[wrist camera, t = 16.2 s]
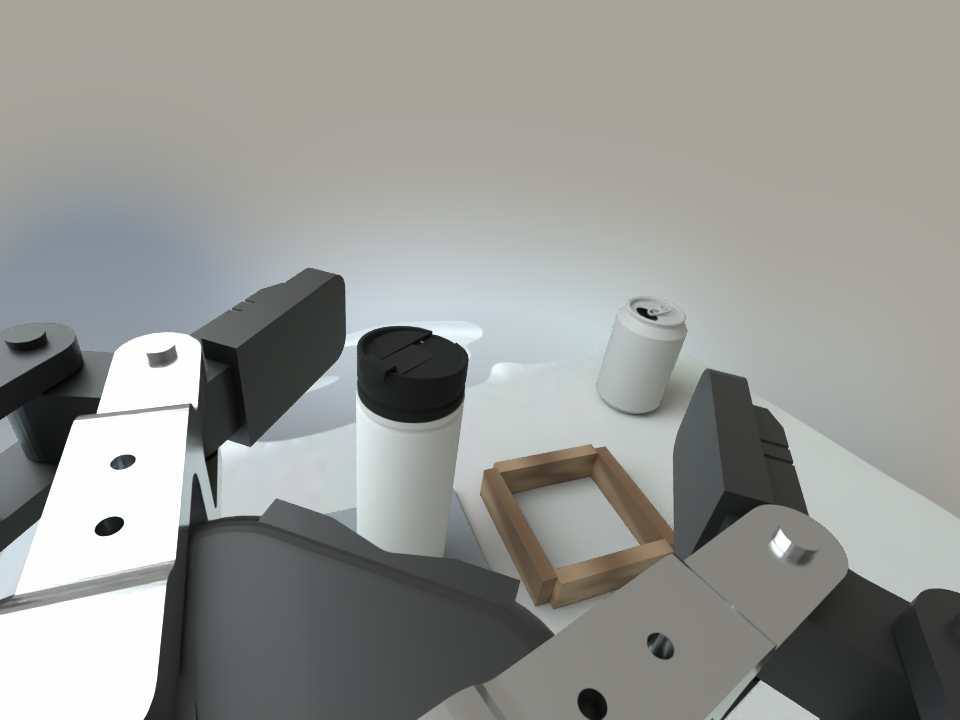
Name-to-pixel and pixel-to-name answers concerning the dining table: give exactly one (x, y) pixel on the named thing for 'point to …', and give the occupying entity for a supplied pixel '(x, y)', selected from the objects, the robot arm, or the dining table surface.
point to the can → (641, 354)
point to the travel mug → (407, 437)
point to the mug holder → (589, 574)
